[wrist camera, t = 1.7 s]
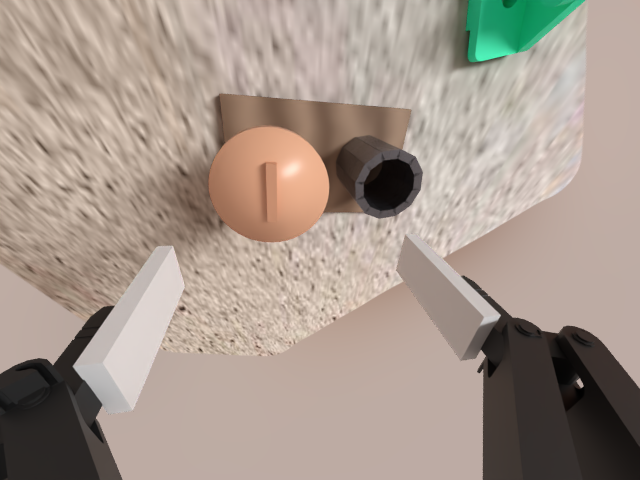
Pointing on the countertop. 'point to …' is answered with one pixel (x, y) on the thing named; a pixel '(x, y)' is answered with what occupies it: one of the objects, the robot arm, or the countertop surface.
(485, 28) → the camera mount
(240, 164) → the domed pot lid
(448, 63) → the countertop surface
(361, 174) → the tube
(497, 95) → the countertop surface
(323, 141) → the brown board with post
